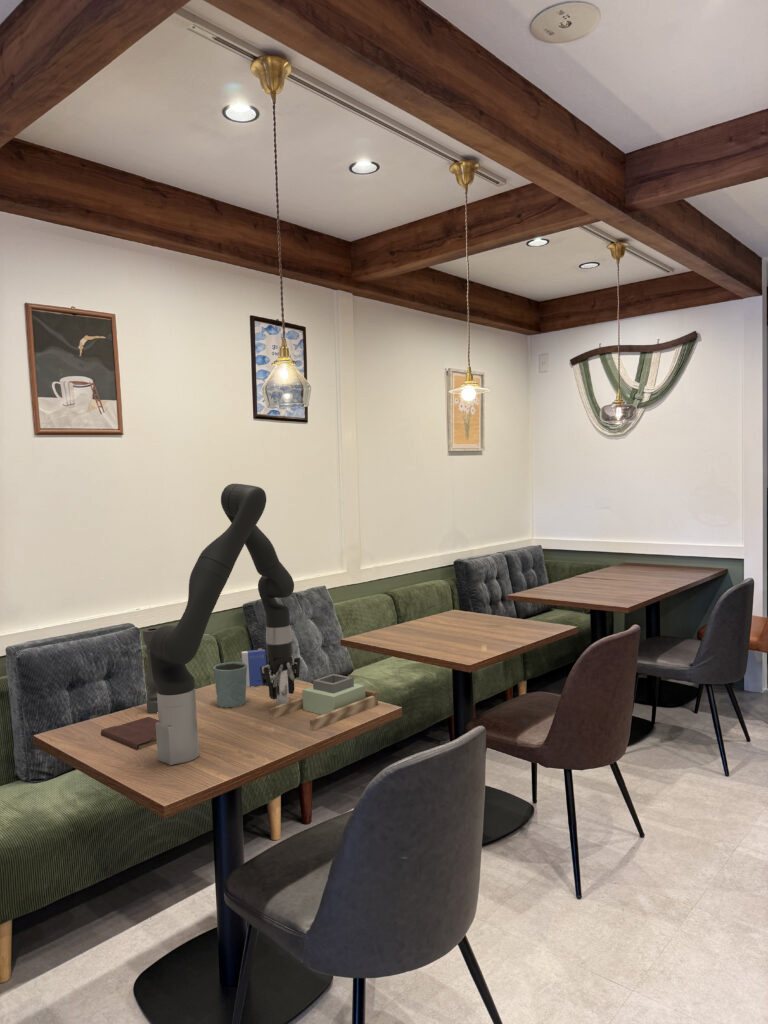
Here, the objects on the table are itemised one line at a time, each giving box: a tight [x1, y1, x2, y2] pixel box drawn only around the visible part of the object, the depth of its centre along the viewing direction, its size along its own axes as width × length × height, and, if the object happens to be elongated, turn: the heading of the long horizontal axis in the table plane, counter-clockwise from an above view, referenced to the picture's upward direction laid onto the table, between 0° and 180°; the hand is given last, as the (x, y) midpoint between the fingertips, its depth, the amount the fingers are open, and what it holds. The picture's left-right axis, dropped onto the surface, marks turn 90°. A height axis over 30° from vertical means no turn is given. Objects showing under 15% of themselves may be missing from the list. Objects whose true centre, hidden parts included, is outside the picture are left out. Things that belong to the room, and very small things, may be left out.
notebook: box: [100, 716, 159, 751], centre depth 203 cm, size 15×20×2 cm
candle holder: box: [142, 627, 159, 714], centre depth 223 cm, size 6×6×25 cm
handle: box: [273, 669, 290, 707], centre depth 218 cm, size 4×4×12 cm
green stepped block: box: [301, 673, 366, 715], centre depth 214 cm, size 13×13×8 cm
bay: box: [268, 689, 379, 732], centre depth 211 cm, size 26×18×5 cm
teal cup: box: [213, 661, 247, 709], centre depth 226 cm, size 10×10×12 cm
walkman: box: [241, 648, 267, 688], centre depth 246 cm, size 8×3×12 cm, turn 105°
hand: (282, 695), depth 218 cm, fingers open, 6 cm apart
